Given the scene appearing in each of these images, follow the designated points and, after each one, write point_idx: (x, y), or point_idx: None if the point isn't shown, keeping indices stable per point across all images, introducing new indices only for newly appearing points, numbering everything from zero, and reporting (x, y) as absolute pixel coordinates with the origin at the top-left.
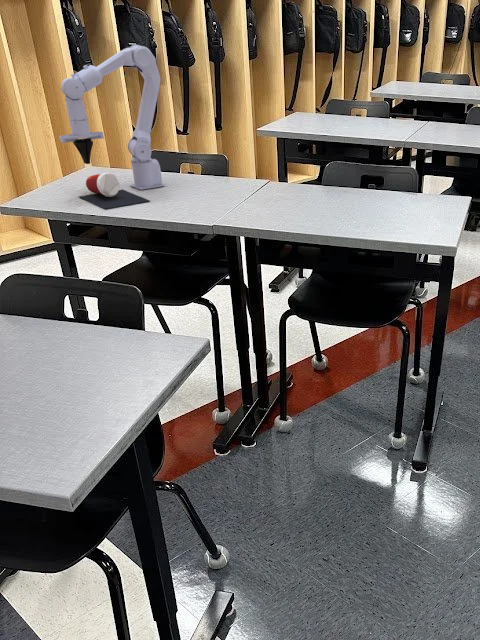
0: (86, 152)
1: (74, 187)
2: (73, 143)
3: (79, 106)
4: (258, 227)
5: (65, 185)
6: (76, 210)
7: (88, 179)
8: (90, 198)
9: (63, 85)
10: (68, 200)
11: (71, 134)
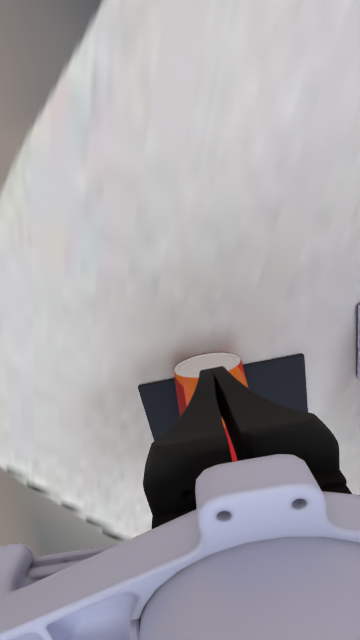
0: (234, 444)
1: (146, 209)
2: (150, 451)
3: None
4: None
5: (112, 140)
6: (109, 503)
7: (185, 405)
8: (167, 425)
9: None
10: (98, 402)
11: (132, 586)
